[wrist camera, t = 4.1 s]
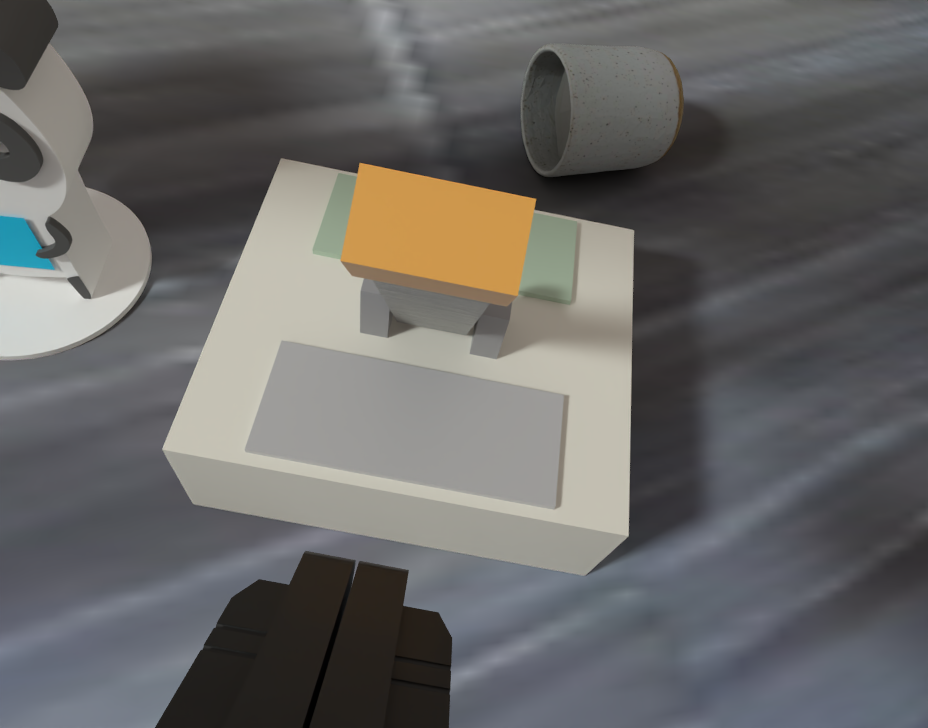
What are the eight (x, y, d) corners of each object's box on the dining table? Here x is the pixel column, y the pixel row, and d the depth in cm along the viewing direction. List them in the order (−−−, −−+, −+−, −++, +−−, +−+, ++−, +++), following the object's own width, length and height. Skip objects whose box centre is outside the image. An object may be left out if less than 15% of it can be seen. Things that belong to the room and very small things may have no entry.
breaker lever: (471, 342, 31) (517, 295, 14) (390, 326, 31) (340, 261, 14) (479, 297, 31) (536, 198, 14) (399, 281, 31) (360, 162, 14)
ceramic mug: (661, 188, 46) (711, 88, 40) (547, 203, 44) (580, 100, 38) (600, 85, 51) (635, -18, 45) (495, 94, 49) (516, -13, 43)
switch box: (584, 575, 32) (657, 509, 24) (193, 504, 31) (141, 413, 24) (598, 300, 40) (655, 187, 33) (290, 238, 40) (275, 108, 32)
